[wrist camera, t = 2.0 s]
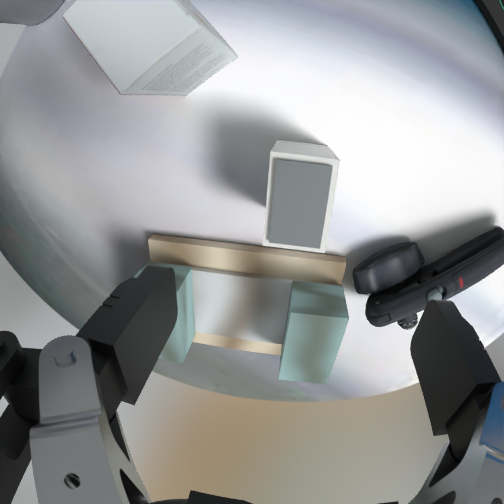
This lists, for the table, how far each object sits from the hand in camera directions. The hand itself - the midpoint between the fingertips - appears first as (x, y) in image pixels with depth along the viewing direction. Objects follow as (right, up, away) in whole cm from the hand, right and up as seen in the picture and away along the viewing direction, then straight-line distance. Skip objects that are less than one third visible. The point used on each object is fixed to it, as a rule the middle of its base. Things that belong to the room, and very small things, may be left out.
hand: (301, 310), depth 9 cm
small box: (-7, +19, +11) cm, 23 cm away
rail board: (-2, -3, +21) cm, 22 cm away
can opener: (+16, +1, +17) cm, 23 cm away
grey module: (+2, +8, +15) cm, 17 cm away
